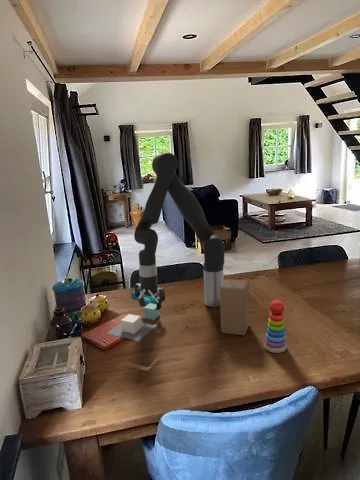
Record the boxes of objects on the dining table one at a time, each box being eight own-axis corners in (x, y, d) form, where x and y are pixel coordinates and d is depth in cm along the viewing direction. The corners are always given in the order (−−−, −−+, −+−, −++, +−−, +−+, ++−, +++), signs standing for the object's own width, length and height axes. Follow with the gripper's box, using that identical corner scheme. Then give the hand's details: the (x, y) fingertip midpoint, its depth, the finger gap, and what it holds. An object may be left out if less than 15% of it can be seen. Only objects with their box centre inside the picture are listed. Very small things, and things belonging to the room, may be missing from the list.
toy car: (148, 290, 194) (147, 278, 192) (165, 301, 180) (164, 289, 178) (129, 296, 189) (128, 284, 187) (146, 308, 174) (144, 295, 172)
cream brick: (142, 327, 153) (141, 316, 152) (134, 333, 148) (133, 322, 147) (130, 324, 156) (129, 313, 155) (122, 331, 151) (120, 320, 149)
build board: (157, 326, 155) (157, 324, 154) (139, 343, 143) (139, 341, 142) (126, 320, 162) (126, 318, 161) (106, 335, 150) (106, 333, 150)
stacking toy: (282, 356, 129) (283, 307, 124) (261, 350, 133) (261, 303, 128) (289, 345, 135) (290, 298, 131) (268, 340, 140) (268, 295, 135)
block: (249, 324, 152) (249, 279, 147) (245, 336, 143) (245, 289, 138) (225, 322, 155) (224, 278, 150) (220, 333, 146) (219, 287, 141)
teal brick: (160, 317, 163) (159, 304, 162) (154, 322, 159) (153, 309, 158) (150, 315, 166) (149, 303, 164) (144, 320, 161) (143, 307, 160)
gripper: (166, 272, 157) (168, 307, 161) (139, 268, 164) (141, 301, 168) (157, 278, 151) (159, 314, 155) (129, 274, 157) (132, 308, 162)
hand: (150, 307), depth 162 cm, fingers open, 8 cm apart
